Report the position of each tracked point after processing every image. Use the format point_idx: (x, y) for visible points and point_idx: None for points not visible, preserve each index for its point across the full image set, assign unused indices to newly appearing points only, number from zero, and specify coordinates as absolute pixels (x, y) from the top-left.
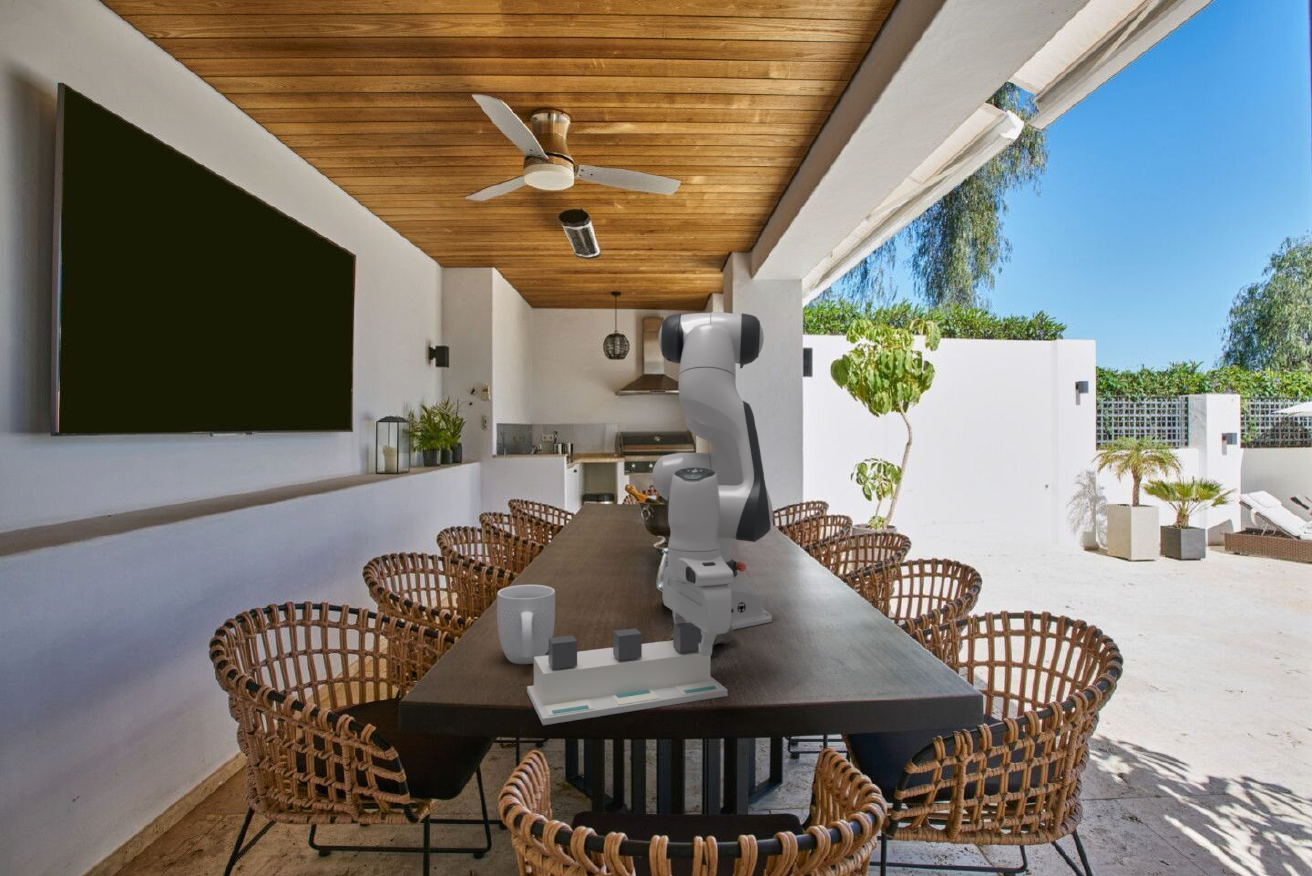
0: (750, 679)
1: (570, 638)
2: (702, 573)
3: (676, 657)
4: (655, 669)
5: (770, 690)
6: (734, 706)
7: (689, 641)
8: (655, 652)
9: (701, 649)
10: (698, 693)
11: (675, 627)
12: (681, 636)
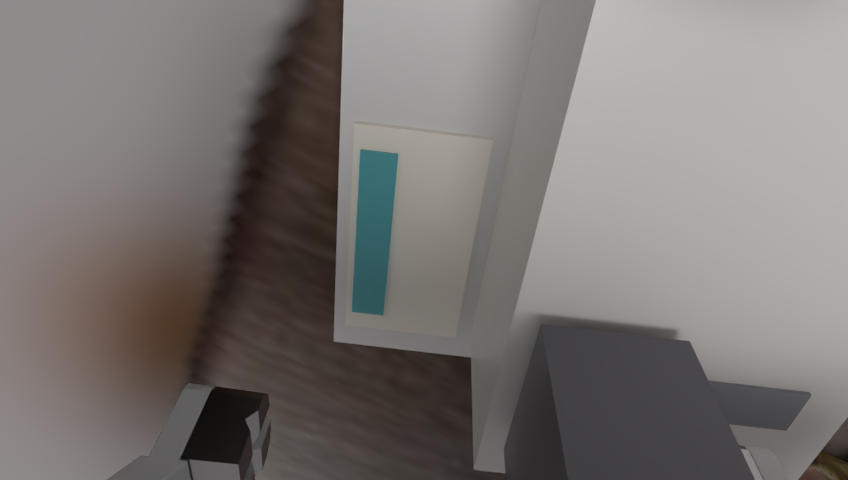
0: (452, 462)
1: None
2: None
3: (522, 268)
4: (559, 53)
5: (324, 458)
6: (224, 289)
7: (531, 451)
8: (732, 173)
9: (182, 421)
10: (347, 211)
11: None
12: (556, 448)
